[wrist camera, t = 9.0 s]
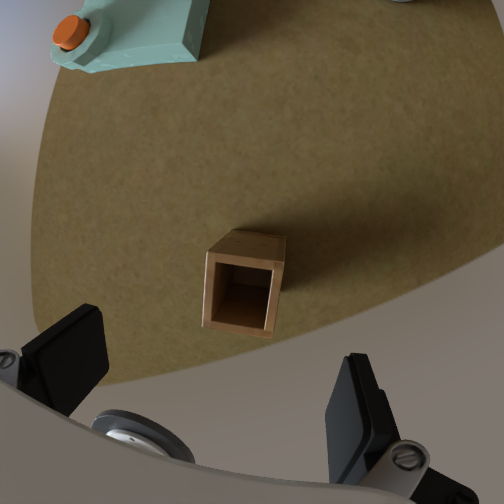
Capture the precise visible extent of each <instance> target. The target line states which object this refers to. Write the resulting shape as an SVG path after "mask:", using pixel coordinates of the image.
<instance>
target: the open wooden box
mask: <svg viewBox="0 0 504 504" xmlns="http://www.w3.org/2000/svg"><path fill="white" fill-rule="evenodd" d="M285 248H286V236H280V235H272V234H265V233H257V232H250V231H242V230H235V229H232V230H231V231H230V232H229V233H227V234H226V235H225V236H224V237H223V238H222V239H221V240H219V241H218V242H217V243H216V244H215V245H214V246H213V247H211V248H210V249H209V250H208V251H207V257H206V270H205V285H204V301H203V319H202V327H205V328H211V329H216V330H222V331H227V332H233V333H239V334H245V335H252V336H258V337H264V338H271V339H272V338H273V333H274V327H275V321H276V315H277V309H278V303H279V296H280V290H281V283H282V277H283V270H284V264H285Z"/></svg>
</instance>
